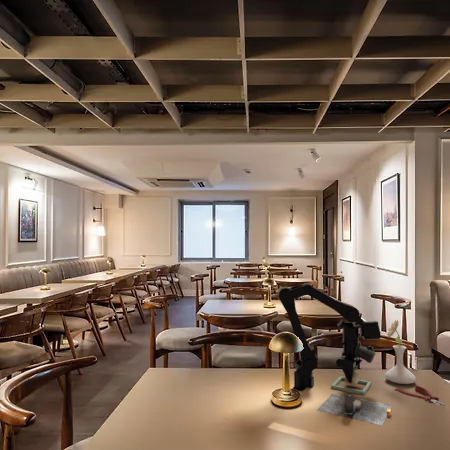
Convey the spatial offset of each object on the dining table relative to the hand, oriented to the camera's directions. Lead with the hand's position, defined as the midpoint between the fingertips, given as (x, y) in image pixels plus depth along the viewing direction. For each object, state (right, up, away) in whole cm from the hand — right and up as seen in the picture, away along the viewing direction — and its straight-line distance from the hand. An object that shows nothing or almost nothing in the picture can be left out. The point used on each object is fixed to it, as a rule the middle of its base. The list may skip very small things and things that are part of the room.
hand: (351, 380), depth 149 cm
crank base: (-5, -3, -19) cm, 20 cm away
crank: (-7, -1, -22) cm, 23 cm away
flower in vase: (+22, -4, +8) cm, 24 cm away
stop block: (0, -1, 0) cm, 1 cm away
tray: (0, -4, 0) cm, 4 cm away
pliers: (+21, -4, -10) cm, 24 cm away
